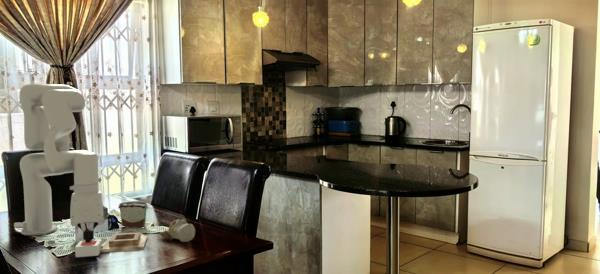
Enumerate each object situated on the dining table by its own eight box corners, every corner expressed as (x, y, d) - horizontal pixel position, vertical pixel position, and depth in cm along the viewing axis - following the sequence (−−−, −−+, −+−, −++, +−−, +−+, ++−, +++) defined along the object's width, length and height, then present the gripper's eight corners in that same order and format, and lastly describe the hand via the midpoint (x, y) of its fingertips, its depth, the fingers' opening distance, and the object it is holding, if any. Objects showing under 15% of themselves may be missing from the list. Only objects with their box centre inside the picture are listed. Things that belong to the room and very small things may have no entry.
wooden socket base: (101, 252, 162) (101, 243, 162) (108, 240, 176) (107, 232, 175) (143, 249, 165) (143, 240, 165) (147, 238, 179) (147, 230, 179)
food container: (153, 224, 199) (152, 201, 199) (147, 228, 193) (146, 204, 192) (125, 223, 200) (125, 200, 200) (118, 227, 194) (118, 203, 194)
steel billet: (78, 243, 172) (77, 222, 172) (75, 240, 176) (74, 219, 175) (91, 241, 175) (90, 220, 174) (88, 238, 178) (87, 218, 178)
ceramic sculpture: (177, 222, 168) (156, 217, 179) (178, 246, 169) (157, 240, 179) (202, 217, 176) (180, 213, 186) (203, 240, 176) (181, 234, 187)
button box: (75, 257, 157) (75, 246, 157) (80, 250, 164) (79, 241, 163) (97, 255, 158) (97, 245, 158) (101, 249, 165) (101, 239, 165)
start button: (81, 249, 158) (80, 243, 158) (83, 245, 162) (83, 240, 162) (93, 248, 159) (93, 242, 159) (96, 245, 163) (95, 239, 163)
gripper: (59, 191, 154) (62, 246, 155) (108, 189, 157) (110, 243, 159) (65, 187, 161) (67, 240, 163) (111, 185, 165) (113, 237, 166)
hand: (88, 241), depth 161 cm, fingers closed
